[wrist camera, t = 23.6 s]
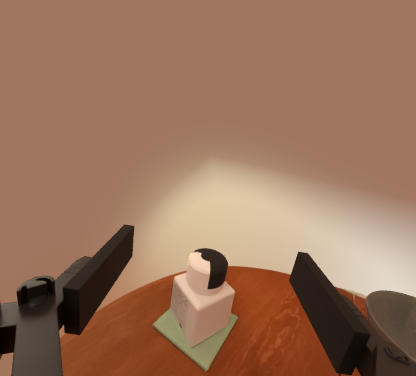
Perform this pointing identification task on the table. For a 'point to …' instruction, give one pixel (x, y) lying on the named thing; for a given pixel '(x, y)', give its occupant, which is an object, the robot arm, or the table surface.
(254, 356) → the table surface
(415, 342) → the bowl
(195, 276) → the container
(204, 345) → the mat
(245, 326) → the table surface
